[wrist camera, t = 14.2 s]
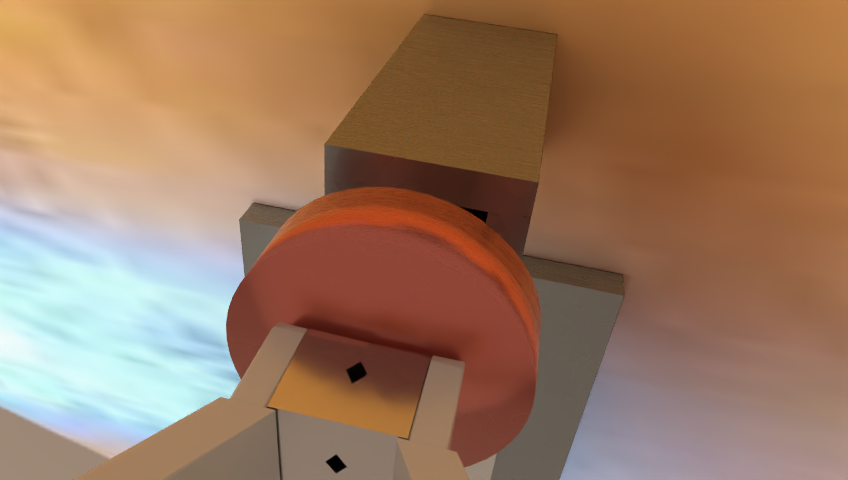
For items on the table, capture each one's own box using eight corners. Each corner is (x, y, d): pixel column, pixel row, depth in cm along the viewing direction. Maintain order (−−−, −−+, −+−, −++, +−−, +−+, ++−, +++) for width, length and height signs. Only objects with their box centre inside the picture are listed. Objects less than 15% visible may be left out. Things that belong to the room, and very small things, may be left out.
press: (697, 55, 18) (771, 224, 11) (545, 500, 31) (532, 714, 24) (235, -15, 20) (33, 91, 13) (271, 434, 33) (181, 616, 25)
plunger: (577, 39, 17) (567, 279, 8) (541, 200, 20) (506, 500, 11) (393, 11, 17) (210, 210, 9) (384, 171, 20) (238, 436, 12)
